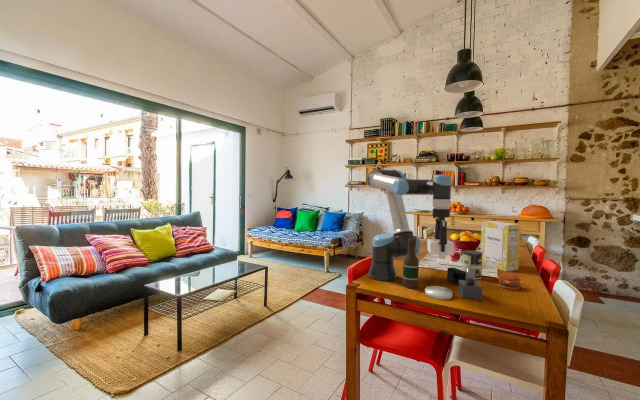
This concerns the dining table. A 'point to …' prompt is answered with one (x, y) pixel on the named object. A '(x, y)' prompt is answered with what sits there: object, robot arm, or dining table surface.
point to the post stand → (470, 286)
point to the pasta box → (500, 245)
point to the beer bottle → (410, 267)
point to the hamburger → (509, 281)
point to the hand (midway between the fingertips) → (439, 255)
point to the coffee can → (472, 261)
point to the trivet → (438, 292)
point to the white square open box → (434, 247)
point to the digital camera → (455, 275)
